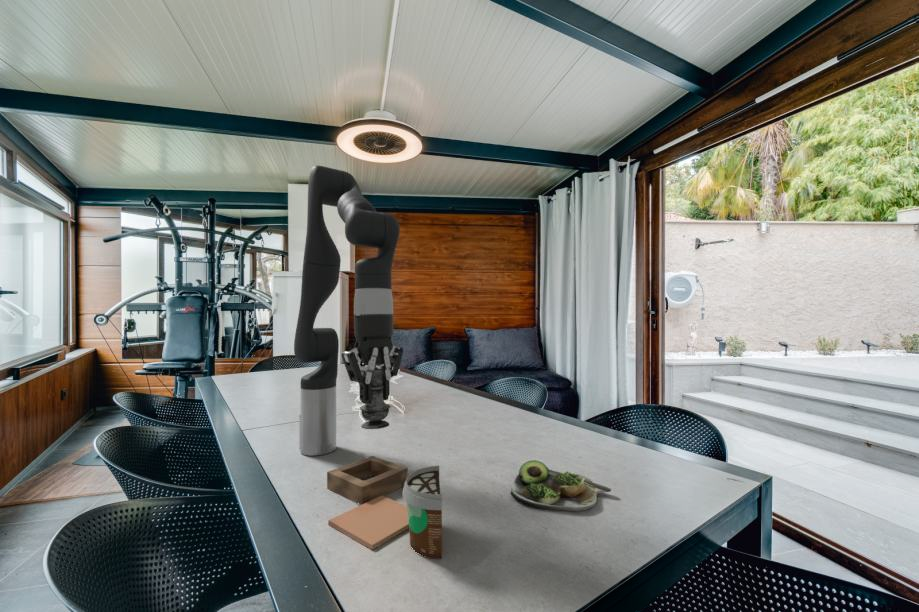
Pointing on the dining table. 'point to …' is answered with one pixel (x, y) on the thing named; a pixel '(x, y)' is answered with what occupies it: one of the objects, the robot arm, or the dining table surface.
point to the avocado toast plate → (553, 488)
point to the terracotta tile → (373, 521)
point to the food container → (424, 511)
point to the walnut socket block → (361, 491)
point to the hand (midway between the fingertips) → (374, 401)
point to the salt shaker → (375, 404)
